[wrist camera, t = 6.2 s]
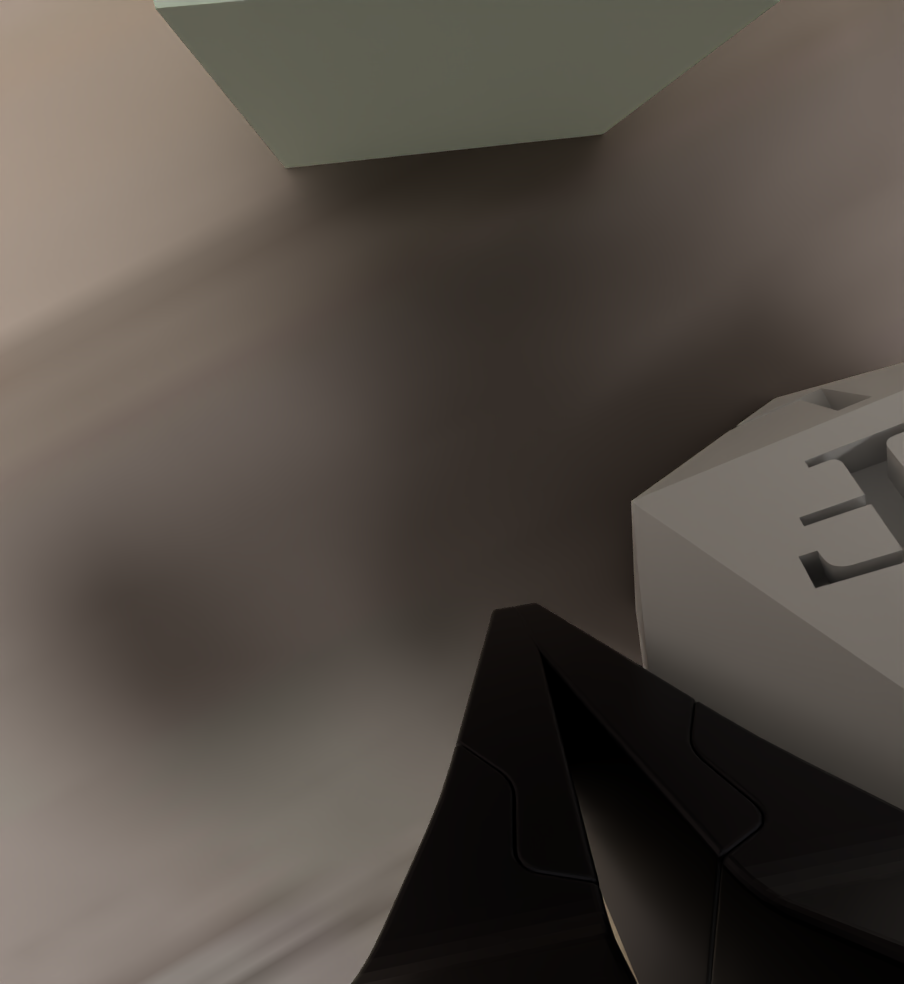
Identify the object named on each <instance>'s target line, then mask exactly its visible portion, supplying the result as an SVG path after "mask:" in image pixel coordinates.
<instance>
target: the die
mask: <svg viewBox="0 0 904 984" xmlns="http://www.w3.org/2000/svg"><path fill="white" fill-rule="evenodd" d="M631 513H632V537H633V560H634V583H635V607H636V616H637V624H638V632H639V639H640V647H641V655H642V662H643V668H645V669H646V670H648V671H650V672H651V673H653V674H655V675H656V676H658V677H660V678H661V679H663V680H665V681H666V682H668V683H669V684H671V685H673V686H674V687H676V688H678V689H679V690H681V691H683V692H684V693H686V694H688V695H689V696H691V697H693V698H694V699H695V703H696V702H701V703H703V704H704V705H706V706H708V707H709V708H711V709H713V710H714V711H716V712H718V713H719V714H721V715H723V716H724V717H726V718H728V719H730V720H731V721H733V722H735V723H736V724H738V725H740V726H742V727H743V728H745V729H747V730H749V731H750V732H752V733H754V734H756V735H757V736H759V737H761V738H763V739H765V740H767V741H769V742H771V743H772V744H774V745H776V746H778V747H780V748H782V749H784V750H786V751H788V752H790V753H791V754H793V755H795V756H797V757H799V758H801V759H803V760H805V761H807V762H809V763H811V764H813V765H815V766H817V767H819V768H821V769H823V770H825V771H827V772H829V773H831V774H833V775H835V776H837V777H839V778H841V779H843V780H845V781H847V782H849V783H851V784H853V785H855V786H857V787H859V788H861V789H863V790H865V791H867V792H869V793H871V794H873V795H875V796H877V797H879V798H881V799H882V800H884V801H886V802H888V803H890V804H892V805H894V806H896V807H898V808H900V809H902V810H904V362H902V363H899V364H895V365H891V366H888V367H884V368H881V369H877V370H874V371H870V372H866V373H863V374H859V375H856V376H852V377H848V378H845V379H841V380H838V381H834V382H830V383H827V384H823V385H820V386H816V387H812V388H809V389H805V390H802V391H798V392H795V393H791V394H787V395H784V396H780V397H777V398H774V399H773V400H771V401H770V402H768V403H767V404H766V405H764V406H763V407H761V408H760V409H759V410H757V411H756V412H755V413H753V414H752V415H750V416H749V417H748V418H746V419H745V420H743V421H742V422H741V423H739V424H738V425H737V427H736V428H734V429H732V430H729V431H728V432H727V433H725V434H724V435H722V436H721V437H720V438H718V439H717V440H716V441H714V442H713V443H711V444H710V445H709V446H707V447H706V448H704V449H703V450H702V451H700V452H699V453H697V454H696V455H695V456H693V457H692V458H690V459H689V460H688V461H686V462H685V463H684V464H682V465H681V466H679V467H678V468H677V469H675V470H674V471H672V472H671V473H670V474H668V475H667V476H665V477H664V478H663V479H661V480H660V481H658V482H657V483H656V484H654V485H653V486H651V487H650V488H649V489H647V490H646V491H645V492H643V493H642V494H640V495H639V496H638V497H636V498H635V499H633V500H632V501H631Z"/></svg>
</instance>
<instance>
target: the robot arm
mask: <svg viewBox="0 0 904 984" xmlns="http://www.w3.org/2000/svg"><path fill="white" fill-rule="evenodd" d="M603 898H604V900H605V903H606V905H607V908H608V910H609V913H610V915H611V917H612V920H613V922H614V925H615V927H616V930H617V932H618V935H619V937H620V939H621V942H622V944H623V947H624V949H625V952H626V954H627V956H628V959H629V961H630V964H631V966H632V969H633V971H634V973H635V976H636V978H637V981H638V983H639V984H904V810H902V809H900V808H898V807H896V806H894V805H892V804H890V803H888V802H886V801H884V800H882V799H881V798H879V797H877V796H875V795H873V794H871V793H869V792H867V791H865V790H863V789H861V788H859V787H857V786H855V785H853V784H851V783H849V782H847V781H845V780H843V779H841V778H839V777H837V776H835V775H833V774H831V773H829V772H827V771H825V770H823V769H821V768H819V767H817V766H815V765H813V764H811V763H809V762H807V761H805V760H803V759H801V758H799V757H797V756H795V755H793V754H791V753H790V752H788V751H786V750H784V749H782V748H780V747H778V746H776V745H774V744H772V743H771V742H769V741H767V740H765V739H763V738H761V737H759V736H757V735H756V734H754V733H752V732H750V731H749V730H747V729H745V728H743V727H742V726H740V725H738V724H736V723H735V722H733V721H731V720H730V719H728V718H726V717H724V716H723V715H721V714H719V713H718V712H716V711H714V710H713V709H711V708H709V707H708V706H706V705H704V704H703V703H701V702H696V703H695V699H694V698H693V697H691V696H689V695H688V694H686V693H684V692H683V691H681V690H679V689H678V688H676V687H674V686H673V685H671V684H669V683H668V682H666V681H665V680H663V679H661V678H660V677H658V676H656V675H655V674H653V673H651V672H650V671H648V670H646V669H645V668H643V667H642V666H640V665H638V664H637V663H635V662H633V661H632V660H630V659H628V658H627V657H625V656H623V655H622V654H620V653H618V652H617V651H615V650H614V649H612V648H610V647H609V646H607V645H605V644H604V643H602V642H600V641H599V640H597V639H595V638H594V637H592V636H590V635H589V634H587V633H586V632H584V631H582V630H581V629H579V628H577V627H576V626H574V625H572V624H571V623H569V622H567V621H566V620H564V619H562V618H561V617H559V616H558V615H556V614H554V613H553V612H551V611H549V610H548V609H546V608H544V607H543V606H541V605H539V604H537V603H531V604H526V605H520V606H515V607H508V608H502V609H496V610H494V611H493V613H492V615H491V619H490V623H489V626H488V630H487V634H486V637H485V641H484V645H483V648H482V652H481V655H480V659H479V663H478V666H477V670H476V674H475V677H474V681H473V684H472V688H471V692H470V695H469V699H468V703H467V706H466V710H465V714H464V717H463V721H462V724H461V728H460V732H459V735H458V739H457V743H456V747H455V749H454V752H453V756H452V760H451V763H450V767H449V770H448V773H447V776H446V779H445V782H444V786H443V789H442V792H441V795H440V798H439V800H438V803H437V805H436V808H435V810H434V813H433V815H432V818H431V820H430V823H429V825H428V828H427V830H426V833H425V835H424V837H423V839H422V842H421V844H420V846H419V848H418V851H417V853H416V855H415V857H414V859H413V862H412V864H411V866H410V868H409V871H408V873H407V875H406V877H405V880H404V882H403V884H402V886H401V889H400V891H399V893H398V895H397V898H396V900H395V902H394V904H393V907H392V909H391V911H390V913H389V915H388V918H387V920H386V922H385V924H384V927H383V929H382V931H381V933H380V935H379V937H378V939H377V941H376V944H375V946H374V948H373V949H372V951H371V953H370V955H369V957H368V959H367V960H366V962H365V964H364V966H363V967H362V969H361V970H360V972H359V973H358V975H357V976H356V978H355V979H354V980H353V982H352V983H351V984H638V983H637V981H636V979H635V977H634V975H633V973H632V971H631V969H630V967H629V965H628V964H627V962H626V960H625V958H624V956H623V954H622V952H621V950H620V948H619V945H618V943H617V941H616V939H615V936H614V933H613V930H612V927H611V924H610V921H609V918H608V915H607V911H606V908H605V904H604V900H603Z"/></svg>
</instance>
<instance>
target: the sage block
mask: <svg viewBox="0 0 904 984" xmlns="http://www.w3.org/2000/svg"><path fill="white" fill-rule="evenodd" d="M779 1H780V0H154V4H155V8H156V10H157V11H158V12H159V13H160V14H161V16H162V17H163V18H164V19H165V21H166V22H167V23H168V24H169V26H170V27H171V28H172V29H173V30H174V32H175V33H176V34H177V35H178V37H179V38H180V39H181V40H182V42H183V43H184V44H185V45H186V46H187V48H188V49H189V50H190V51H191V53H192V54H193V55H194V56H195V57H196V59H197V60H198V61H199V62H200V64H201V65H202V66H203V67H204V69H205V70H206V71H207V72H208V73H209V75H210V76H211V77H212V78H213V80H214V81H215V82H216V83H217V85H218V86H219V87H220V88H221V89H222V91H223V92H224V93H225V94H226V96H227V97H228V98H229V99H230V101H231V102H232V103H233V104H234V105H235V107H236V108H237V109H238V110H239V112H240V113H241V114H242V115H243V117H244V118H245V119H246V120H247V121H248V123H249V124H250V125H251V126H252V128H253V129H254V130H255V131H256V133H257V134H258V135H259V136H260V137H261V139H262V140H263V141H264V142H265V144H266V145H267V146H268V147H269V149H270V150H271V151H272V152H273V153H274V155H275V156H276V157H277V158H278V160H279V161H280V162H281V163H282V164H283V166H284V167H285V168H293V167H303V166H312V165H322V164H331V163H340V162H350V161H359V160H368V159H378V158H387V157H396V156H406V155H415V154H424V153H434V152H443V151H452V150H462V149H471V148H480V147H490V146H499V145H509V144H518V143H527V142H537V141H546V140H555V139H565V138H574V137H583V136H593V135H602V134H604V133H606V132H607V131H608V130H610V129H611V128H612V127H614V126H615V125H616V124H617V123H619V122H620V121H621V120H623V119H624V118H625V117H627V116H628V115H629V114H631V113H632V112H633V111H635V110H636V109H637V108H639V107H640V106H641V105H643V104H644V103H645V102H647V101H648V100H649V99H651V98H652V97H653V96H655V95H656V94H657V93H659V92H660V91H661V90H663V89H664V88H665V87H666V86H668V85H669V84H670V83H672V82H673V81H674V80H676V79H677V78H678V77H680V76H681V75H682V74H684V73H685V72H686V71H688V70H689V69H690V68H692V67H693V66H694V65H696V64H697V63H698V62H700V61H701V60H702V59H704V58H705V57H706V56H708V55H709V54H710V53H712V52H713V51H714V50H716V49H717V48H718V47H719V46H721V45H722V44H723V43H725V42H726V41H727V40H729V39H730V38H731V37H733V36H734V35H735V34H737V33H738V32H739V31H741V30H742V29H743V28H745V27H746V26H747V25H749V24H750V23H751V22H753V21H754V20H755V19H757V18H758V17H759V16H761V15H762V14H763V13H765V12H766V11H767V10H768V9H770V8H771V7H772V6H774V5H775V4H776V3H778V2H779Z"/></svg>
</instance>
